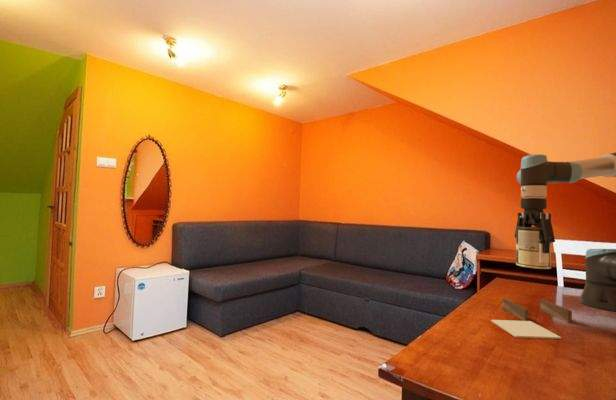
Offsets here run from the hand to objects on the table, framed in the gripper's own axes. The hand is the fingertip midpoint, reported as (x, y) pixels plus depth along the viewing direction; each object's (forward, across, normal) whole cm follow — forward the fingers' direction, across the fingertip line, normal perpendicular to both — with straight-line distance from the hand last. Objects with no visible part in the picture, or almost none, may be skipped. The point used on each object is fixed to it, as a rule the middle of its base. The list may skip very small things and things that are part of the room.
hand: (533, 260), depth 109 cm
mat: (+20, +13, -11) cm, 27 cm away
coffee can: (+3, 0, 0) cm, 3 cm away
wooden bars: (+20, -1, +2) cm, 20 cm away
